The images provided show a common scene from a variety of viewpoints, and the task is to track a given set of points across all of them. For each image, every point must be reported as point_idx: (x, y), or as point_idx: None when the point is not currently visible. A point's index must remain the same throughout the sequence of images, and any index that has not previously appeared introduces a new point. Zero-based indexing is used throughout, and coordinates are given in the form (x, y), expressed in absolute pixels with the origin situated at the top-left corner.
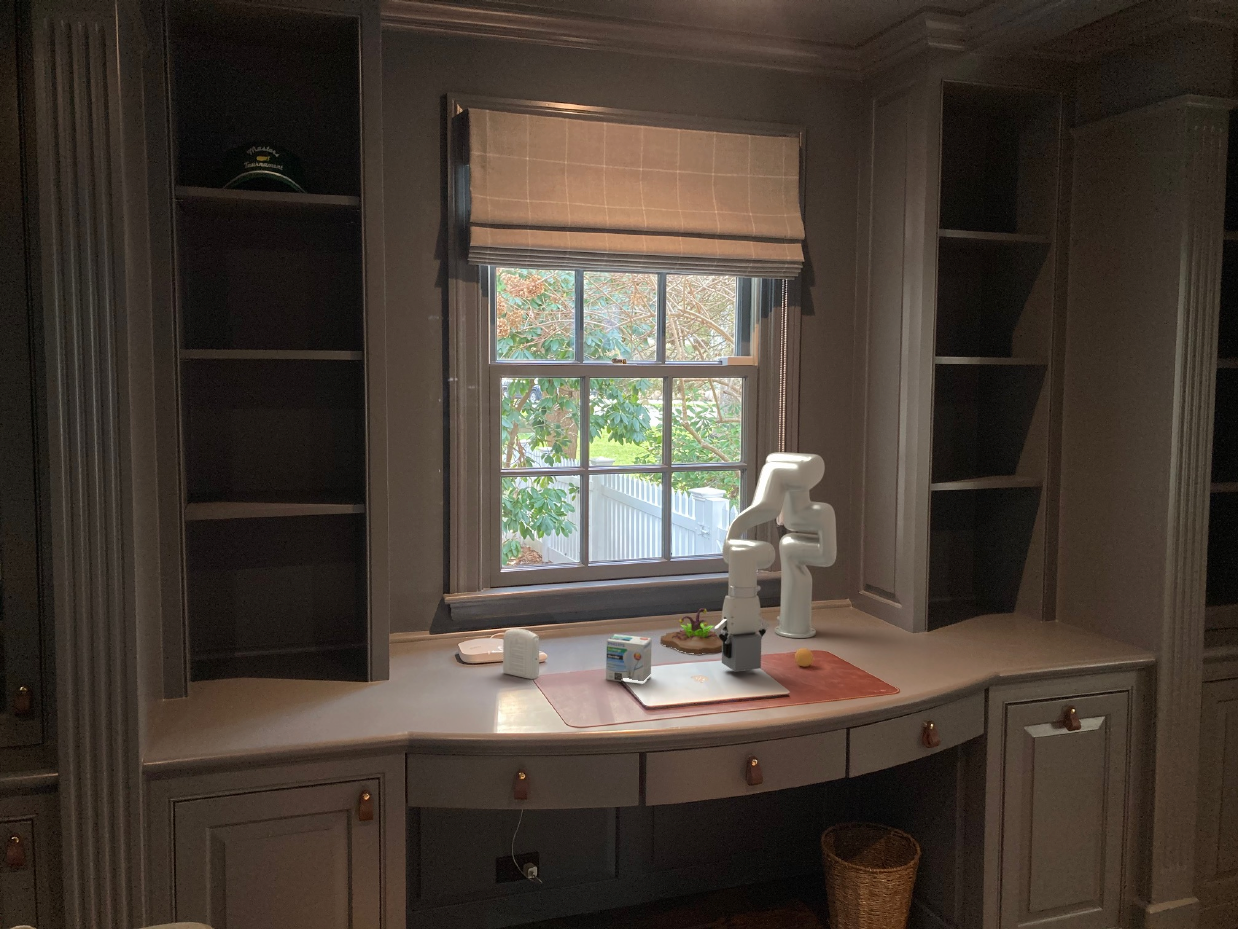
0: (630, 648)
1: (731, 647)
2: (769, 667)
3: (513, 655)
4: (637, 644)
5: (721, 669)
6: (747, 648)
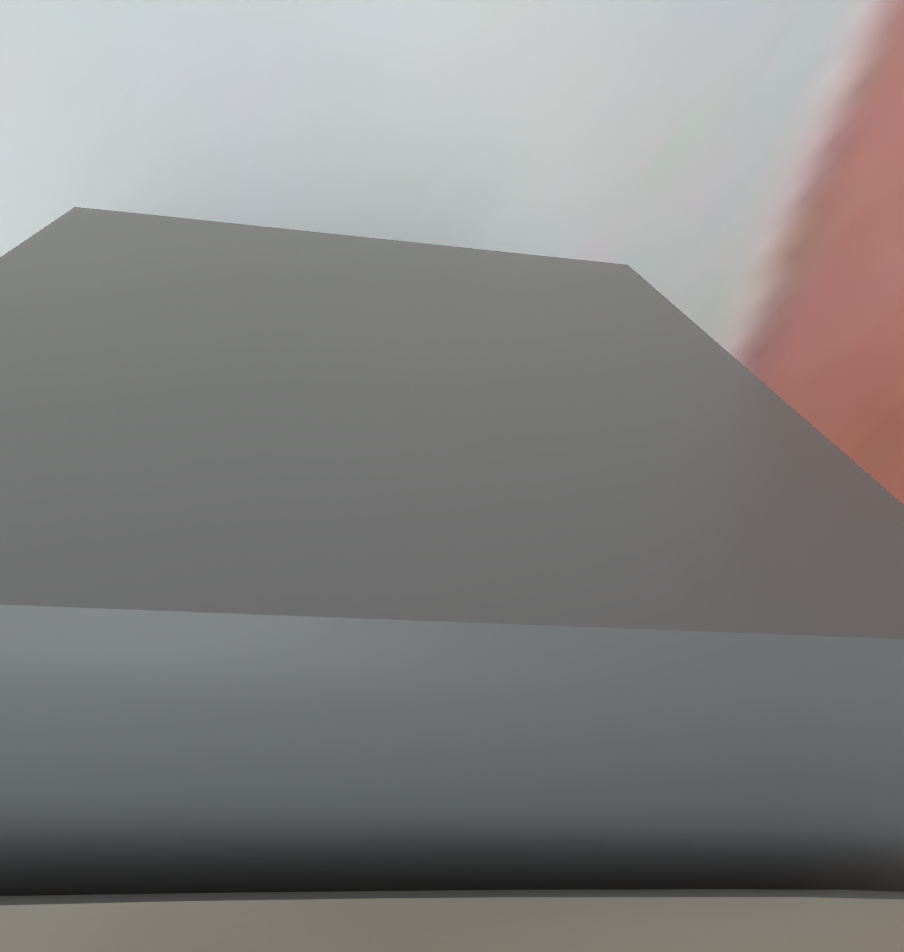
0: None
1: None
2: (876, 370)
3: None
4: None
5: (135, 132)
6: None
